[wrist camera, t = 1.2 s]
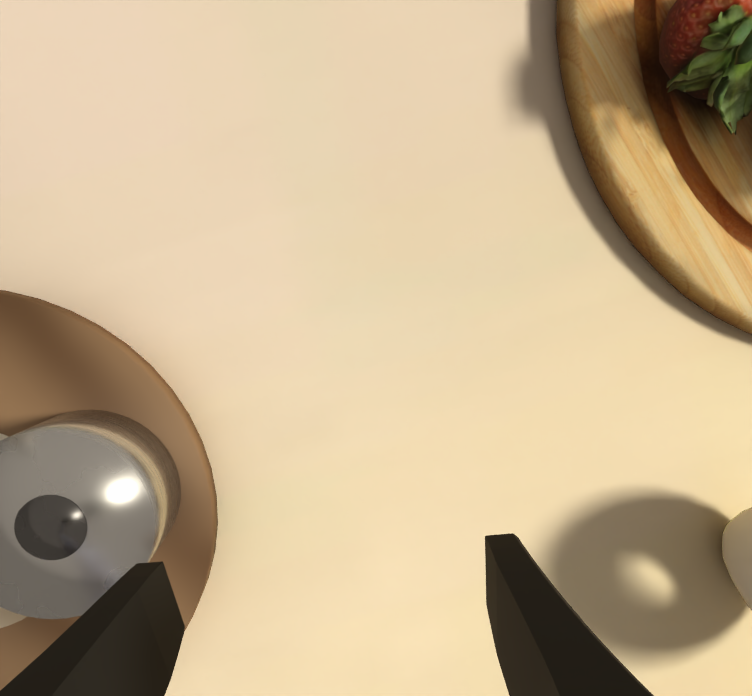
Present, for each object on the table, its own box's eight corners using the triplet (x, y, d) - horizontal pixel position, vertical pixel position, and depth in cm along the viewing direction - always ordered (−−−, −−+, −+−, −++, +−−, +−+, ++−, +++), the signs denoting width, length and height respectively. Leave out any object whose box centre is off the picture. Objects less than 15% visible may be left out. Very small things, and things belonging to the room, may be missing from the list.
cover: (110, 601, 20) (71, 656, 17) (-33, 504, 19) (-101, 544, 16) (215, 479, 20) (194, 512, 17) (76, 375, 19) (27, 390, 16)
